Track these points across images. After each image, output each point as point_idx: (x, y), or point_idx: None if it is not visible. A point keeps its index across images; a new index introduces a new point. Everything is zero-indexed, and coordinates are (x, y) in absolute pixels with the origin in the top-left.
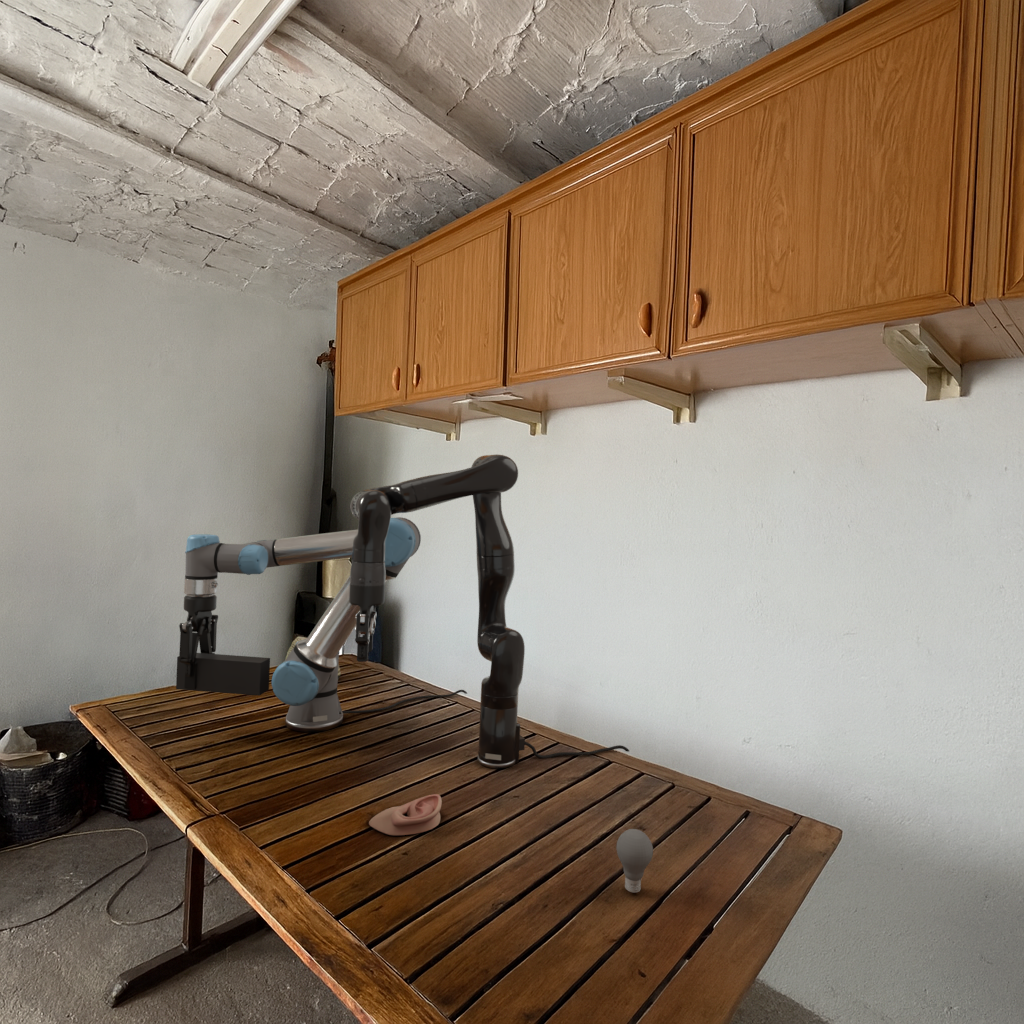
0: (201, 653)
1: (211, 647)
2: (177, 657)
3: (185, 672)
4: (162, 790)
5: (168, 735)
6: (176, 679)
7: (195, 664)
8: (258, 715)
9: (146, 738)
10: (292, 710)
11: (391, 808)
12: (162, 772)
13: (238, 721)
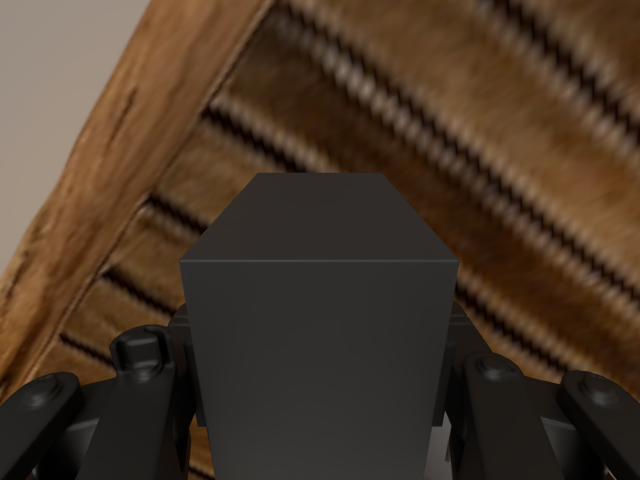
0: (415, 415)
1: (601, 470)
2: (179, 262)
3: (173, 321)
4: (5, 305)
5: (315, 97)
6: (245, 187)
7: (201, 417)
8: (529, 280)
9: (272, 34)
10: (441, 439)
11: None
12: (77, 251)
13: (470, 249)
